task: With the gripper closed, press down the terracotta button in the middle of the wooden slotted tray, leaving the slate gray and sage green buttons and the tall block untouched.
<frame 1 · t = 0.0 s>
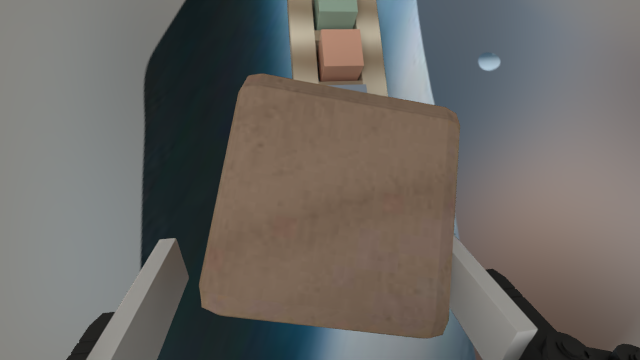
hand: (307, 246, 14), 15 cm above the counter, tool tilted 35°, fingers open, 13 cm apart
slate gray button: (344, 112, 28), point 4 cm above the counter, slide at 0.0 cm
block: (310, 212, 30), on the counter
terracotta button: (339, 59, 28), point 4 cm above the counter, slide at 0.0 cm
green button: (334, 9, 29), point 4 cm above the counter, slide at 0.0 cm
wooden slotted tray: (333, 79, 33), on the counter
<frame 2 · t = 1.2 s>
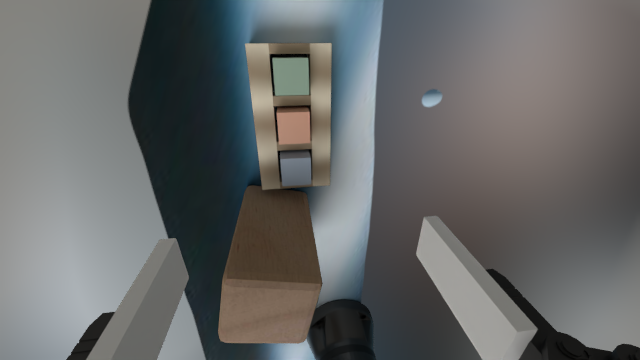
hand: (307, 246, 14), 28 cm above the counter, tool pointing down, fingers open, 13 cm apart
slate gray button: (295, 166, 38), point 4 cm above the counter, slide at 0.0 cm
block: (273, 211, 45), on the counter
terracotta button: (293, 124, 35), point 4 cm above the counter, slide at 0.0 cm
green button: (290, 75, 32), point 4 cm above the counter, slide at 0.0 cm
wooden slotted tray: (292, 117, 39), on the counter
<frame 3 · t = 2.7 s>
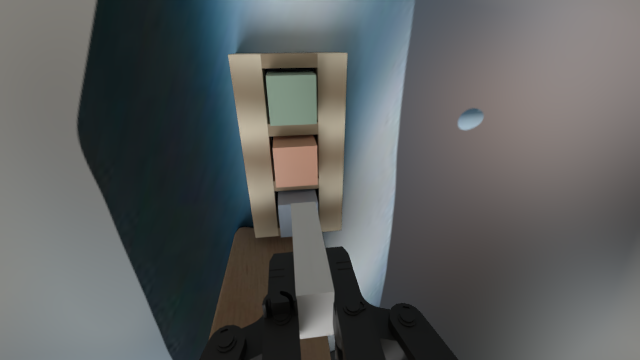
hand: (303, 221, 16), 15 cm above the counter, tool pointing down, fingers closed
slate gray button: (297, 209, 29), point 4 cm above the counter, slide at 0.0 cm
block: (270, 254, 37), on the counter
terracotta button: (295, 159, 26), point 4 cm above the counter, slide at 0.0 cm
green button: (291, 97, 24), point 4 cm above the counter, slide at 0.0 cm
wooden slotted tray: (293, 145, 30), on the counter
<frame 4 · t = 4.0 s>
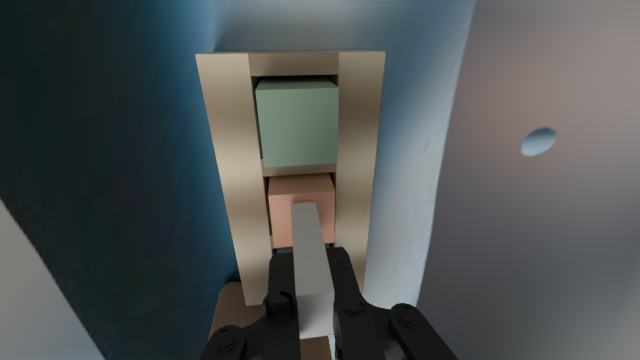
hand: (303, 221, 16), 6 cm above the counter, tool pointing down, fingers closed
slate gray button: (304, 270, 21), point 4 cm above the counter, slide at 0.0 cm
block: (268, 310, 29), on the counter
terracotta button: (301, 203, 18), point 4 cm above the counter, slide at 0.4 cm, touching gripper
green button: (297, 119, 15), point 4 cm above the counter, slide at 0.0 cm
wooden slotted tray: (298, 179, 22), on the counter
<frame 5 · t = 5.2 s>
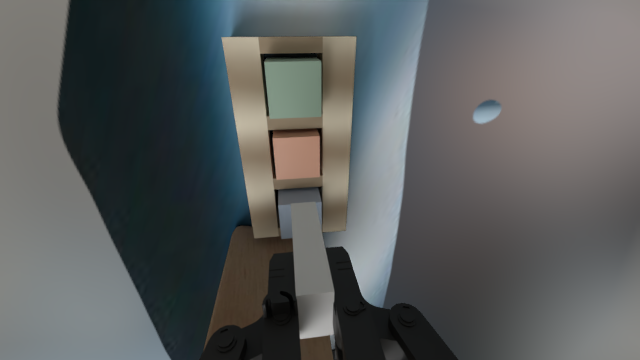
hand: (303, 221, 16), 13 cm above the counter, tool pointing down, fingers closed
slate gray button: (299, 209, 27), point 4 cm above the counter, slide at 0.0 cm
block: (270, 253, 35), on the counter
terracotta button: (296, 150, 25), point 3 cm above the counter, slide at 1.2 cm
green button: (293, 86, 21), point 4 cm above the counter, slide at 0.0 cm
wooden slotted tray: (294, 139, 28), on the counter
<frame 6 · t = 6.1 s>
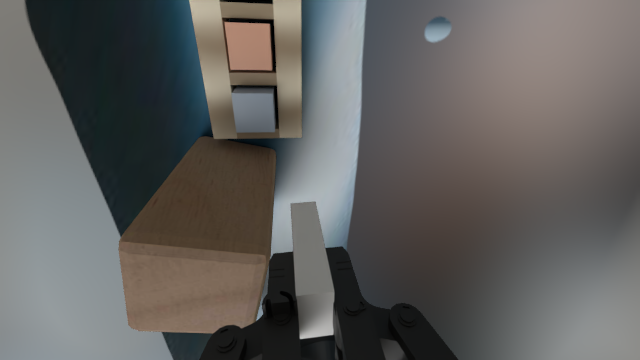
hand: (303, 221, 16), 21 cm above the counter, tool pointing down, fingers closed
slate gray button: (255, 108, 29), point 4 cm above the counter, slide at 0.0 cm
block: (235, 172, 37), on the counter
terracotta button: (251, 46, 27), point 3 cm above the counter, slide at 1.2 cm
wooden slotted tray: (254, 44, 30), on the counter
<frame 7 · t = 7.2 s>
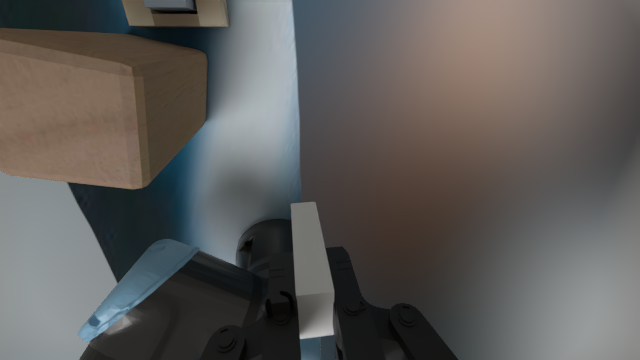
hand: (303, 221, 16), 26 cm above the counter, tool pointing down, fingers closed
block: (169, 82, 36), on the counter
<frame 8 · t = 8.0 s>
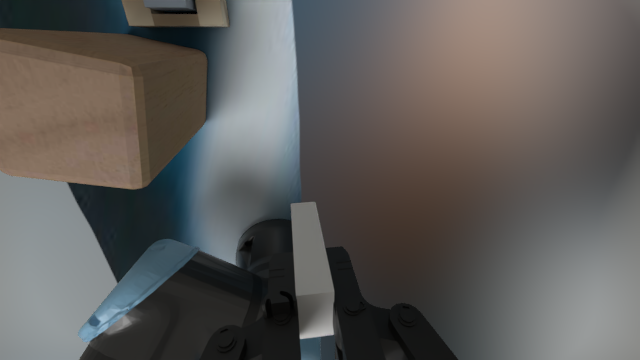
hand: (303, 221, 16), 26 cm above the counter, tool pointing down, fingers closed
block: (169, 83, 36), on the counter
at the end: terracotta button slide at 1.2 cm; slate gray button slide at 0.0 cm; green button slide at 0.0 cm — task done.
